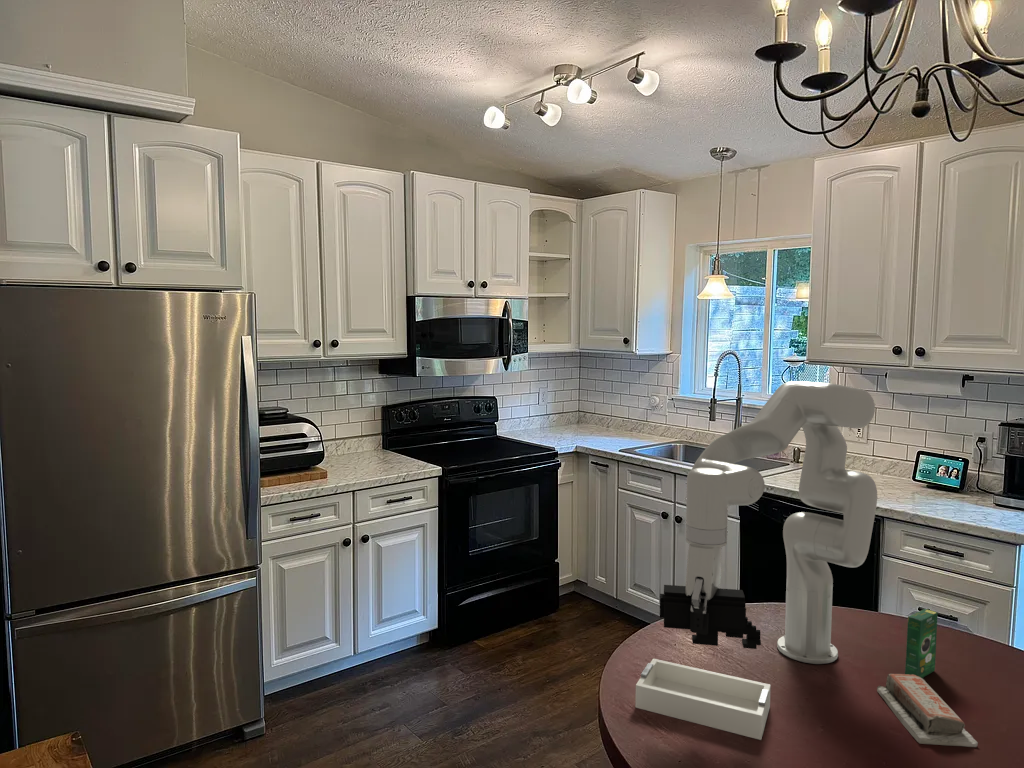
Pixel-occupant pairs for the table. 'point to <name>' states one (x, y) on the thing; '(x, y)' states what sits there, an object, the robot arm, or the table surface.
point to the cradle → (704, 697)
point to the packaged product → (924, 712)
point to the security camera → (710, 615)
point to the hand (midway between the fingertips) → (704, 623)
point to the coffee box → (921, 643)
